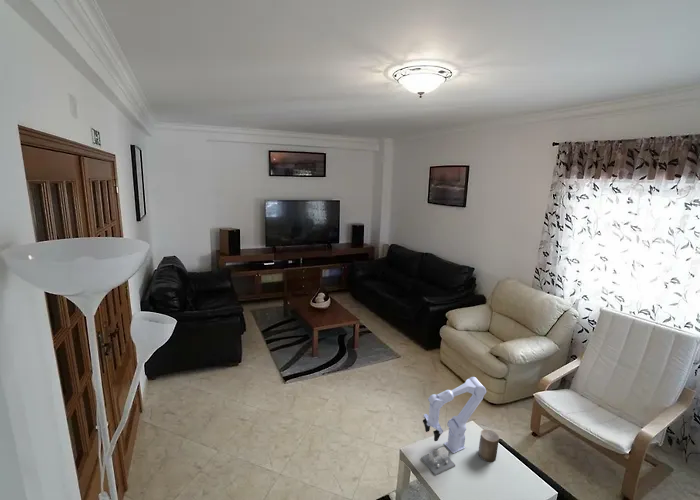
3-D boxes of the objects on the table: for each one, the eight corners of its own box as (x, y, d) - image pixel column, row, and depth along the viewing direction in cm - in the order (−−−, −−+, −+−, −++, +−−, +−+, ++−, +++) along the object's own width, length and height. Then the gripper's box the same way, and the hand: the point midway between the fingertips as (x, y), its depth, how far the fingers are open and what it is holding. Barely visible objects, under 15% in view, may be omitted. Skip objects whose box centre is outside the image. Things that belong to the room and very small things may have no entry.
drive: (442, 455, 198) (443, 446, 196) (447, 460, 194) (448, 451, 193) (428, 461, 193) (429, 452, 192) (433, 466, 190) (434, 457, 188)
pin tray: (440, 450, 202) (440, 446, 201) (455, 466, 192) (455, 461, 191) (421, 458, 196) (421, 454, 195) (435, 475, 186) (435, 470, 185)
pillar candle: (498, 462, 195) (502, 440, 191) (481, 461, 195) (484, 439, 192) (492, 448, 204) (495, 427, 201) (475, 448, 205) (478, 426, 201)
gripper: (420, 409, 201) (418, 429, 205) (436, 426, 189) (434, 447, 192) (429, 406, 205) (427, 425, 208) (446, 422, 192) (444, 443, 195)
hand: (431, 435), depth 200 cm, fingers open, 7 cm apart
